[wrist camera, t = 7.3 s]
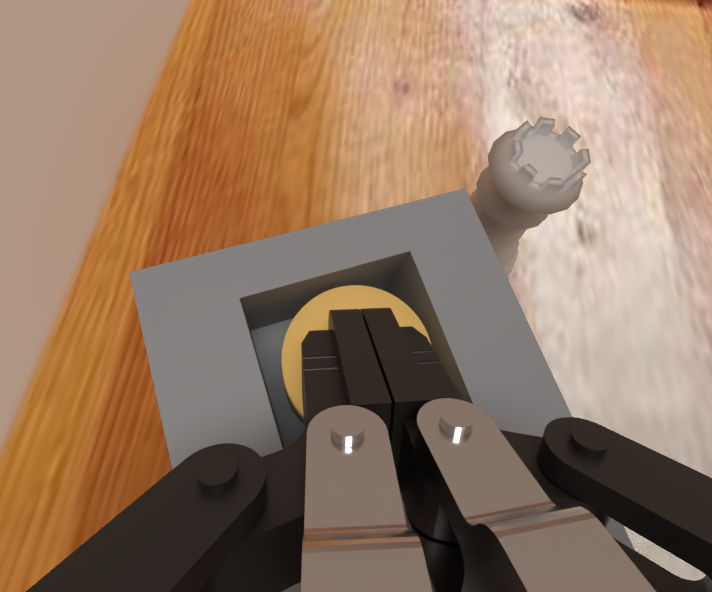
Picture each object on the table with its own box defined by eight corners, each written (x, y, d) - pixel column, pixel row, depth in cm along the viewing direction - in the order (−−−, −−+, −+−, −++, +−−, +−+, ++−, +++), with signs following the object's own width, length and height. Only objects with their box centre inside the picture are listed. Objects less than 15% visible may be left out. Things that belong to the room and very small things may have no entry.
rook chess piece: (395, 239, 21) (453, 122, 13) (468, 201, 22) (558, 75, 15) (449, 318, 20) (543, 240, 12) (522, 273, 21) (647, 179, 14)
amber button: (378, 305, 16) (401, 268, 12) (420, 415, 15) (456, 406, 11) (269, 339, 15) (262, 308, 12) (304, 458, 14) (308, 462, 11)
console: (409, 271, 20) (465, 188, 14) (593, 724, 16) (810, 925, 9) (188, 336, 18) (129, 272, 12) (325, 888, 13) (357, 1314, 7)
